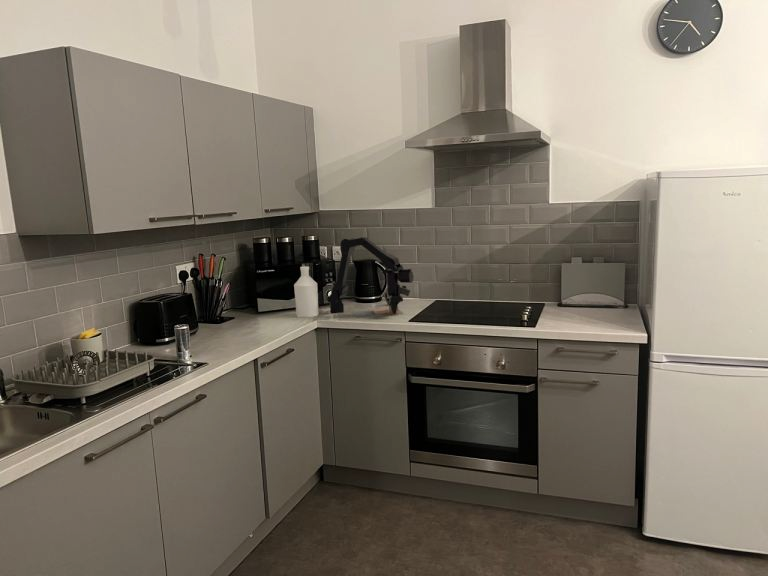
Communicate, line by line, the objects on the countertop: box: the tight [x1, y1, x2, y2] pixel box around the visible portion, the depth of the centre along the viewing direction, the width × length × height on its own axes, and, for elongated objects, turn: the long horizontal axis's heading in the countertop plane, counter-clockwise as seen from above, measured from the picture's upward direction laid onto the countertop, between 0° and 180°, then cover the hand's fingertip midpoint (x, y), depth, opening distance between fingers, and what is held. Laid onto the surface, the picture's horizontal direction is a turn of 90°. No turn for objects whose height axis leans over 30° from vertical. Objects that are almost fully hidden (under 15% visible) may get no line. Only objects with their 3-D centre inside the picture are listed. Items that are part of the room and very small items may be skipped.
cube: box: [388, 305, 399, 316], centre depth 303 cm, size 4×4×4 cm
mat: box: [352, 308, 404, 319], centre depth 309 cm, size 24×16×1 cm, turn 100°
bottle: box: [293, 266, 320, 318], centre depth 312 cm, size 12×12×25 cm
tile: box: [372, 307, 389, 314], centre depth 309 cm, size 2×7×7 cm
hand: (393, 313), depth 303 cm, fingers closed on cube, 4 cm apart
